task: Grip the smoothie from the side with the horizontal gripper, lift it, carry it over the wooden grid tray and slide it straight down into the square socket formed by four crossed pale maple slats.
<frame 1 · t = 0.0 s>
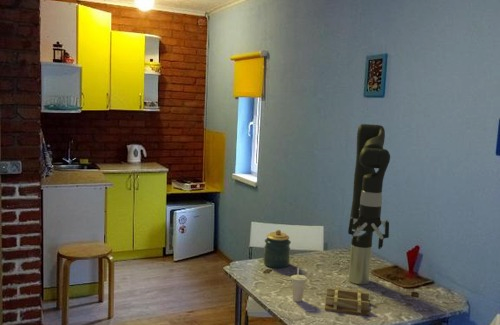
hand: (367, 247, 175), 29 cm above the table, tool pointing down, fingers open, 8 cm apart
canister: (276, 264, 240), on the table
wooden grid tray: (346, 304, 195), on the table
smoothie: (297, 300, 197), on the table
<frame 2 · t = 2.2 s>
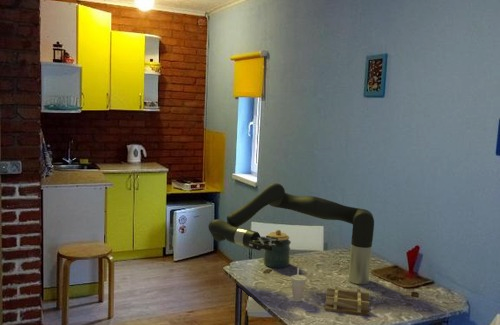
hand: (278, 246, 201), 20 cm above the table, tool horizontal, fingers open, 8 cm apart
nothing on the table moved.
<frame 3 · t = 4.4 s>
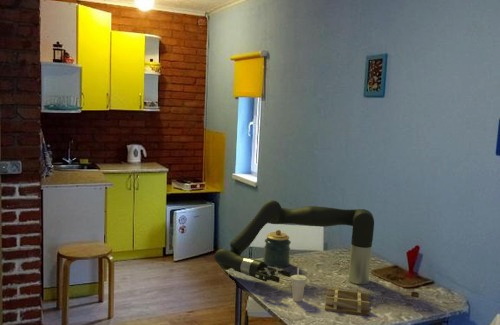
hand: (284, 277, 201), 8 cm above the table, tool horizontal, fingers open, 8 cm apart
nothing on the table moved.
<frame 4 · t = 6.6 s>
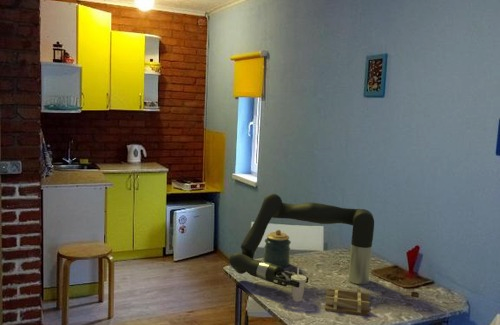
hand: (303, 282, 195), 8 cm above the table, tool horizontal, fingers closed on smoothie, 6 cm apart
smoothie: (297, 300, 197), on the table, touching gripper
everything else where it was.
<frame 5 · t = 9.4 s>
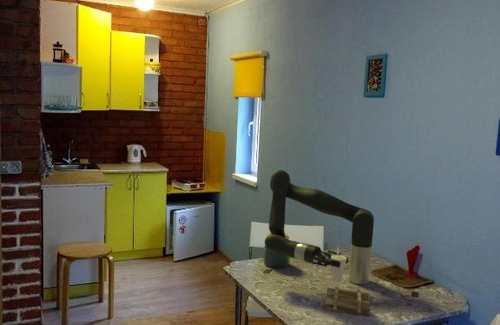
hand: (343, 262, 192), 18 cm above the table, tool horizontal, fingers closed on smoothie, 6 cm apart
smoothie: (336, 280, 195), point 10 cm above the table, touching gripper
everything else where it was.
when the fingers open (10 cm above the table, at t = 12.3 s): smoothie drops 1 cm, resting on wooden grid tray.
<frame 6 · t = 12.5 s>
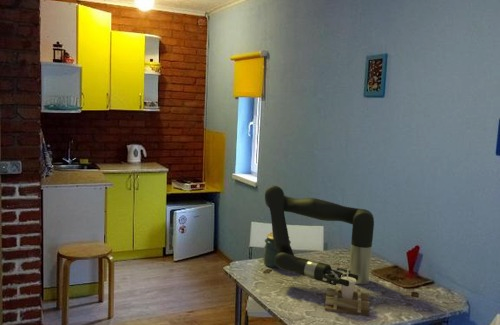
hand: (353, 280, 193), 10 cm above the table, tool horizontal, fingers open, 8 cm apart
smoothie: (346, 302, 195), point 1 cm above the table, touching wooden grid tray
everything else where it was.
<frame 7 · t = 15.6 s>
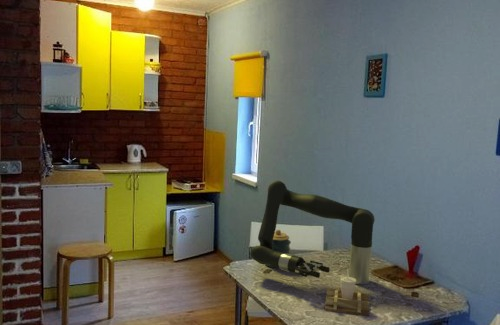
hand: (324, 272, 201), 11 cm above the table, tool horizontal, fingers open, 8 cm apart
nothing on the table moved.
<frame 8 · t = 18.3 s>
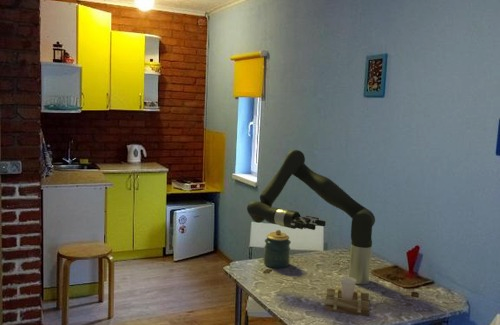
hand: (320, 225, 200), 30 cm above the table, tool horizontal, fingers open, 8 cm apart
nothing on the table moved.
at the end: smoothie 0.2 cm off-centre on the wooden grid tray, point 0.8 cm above the wooden grid tray's base; smoothie tilted 0°; the gripper is holding nothing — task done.
